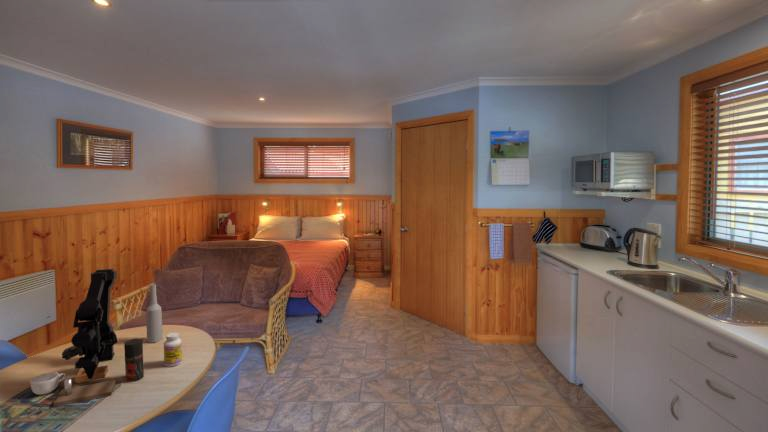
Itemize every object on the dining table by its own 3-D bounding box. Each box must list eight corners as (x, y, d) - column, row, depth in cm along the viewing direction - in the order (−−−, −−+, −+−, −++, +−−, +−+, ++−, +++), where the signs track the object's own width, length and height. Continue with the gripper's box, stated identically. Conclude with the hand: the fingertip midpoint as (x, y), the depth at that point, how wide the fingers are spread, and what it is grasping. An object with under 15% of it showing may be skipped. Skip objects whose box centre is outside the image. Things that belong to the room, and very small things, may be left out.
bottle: (150, 344, 175) (148, 287, 172) (144, 340, 178) (142, 285, 176) (165, 339, 180) (163, 284, 178) (158, 336, 184) (156, 282, 181)
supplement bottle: (163, 368, 153) (162, 338, 152) (165, 361, 159) (164, 332, 158) (181, 365, 155) (180, 336, 154) (182, 358, 161) (182, 330, 160)
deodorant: (147, 375, 147) (146, 339, 145) (132, 383, 141) (131, 346, 140) (136, 373, 149) (135, 337, 147) (122, 380, 143) (120, 343, 142)
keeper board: (115, 383, 141) (115, 379, 141) (111, 395, 133) (111, 391, 133) (62, 393, 133) (61, 389, 133) (53, 407, 125) (53, 403, 125)
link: (107, 371, 150) (107, 365, 149) (104, 378, 144) (104, 372, 144) (80, 376, 145) (79, 370, 145) (75, 383, 140) (75, 377, 140)
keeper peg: (73, 392, 132) (72, 377, 131) (71, 394, 130) (70, 380, 130) (66, 393, 131) (65, 378, 131) (64, 396, 129) (63, 381, 129)
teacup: (37, 399, 130) (36, 385, 129) (26, 394, 133) (25, 379, 132) (71, 385, 139) (70, 372, 138) (60, 380, 142) (59, 367, 141)
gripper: (70, 331, 148) (73, 368, 149) (55, 350, 131) (58, 391, 133) (104, 327, 153) (106, 362, 154) (94, 344, 137) (96, 384, 138)
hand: (92, 374), depth 145 cm, fingers closed on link, 6 cm apart
